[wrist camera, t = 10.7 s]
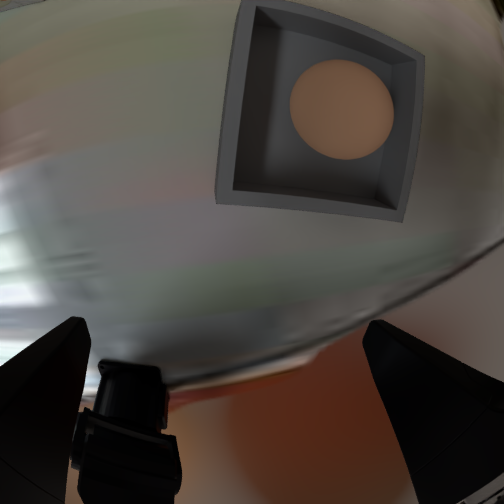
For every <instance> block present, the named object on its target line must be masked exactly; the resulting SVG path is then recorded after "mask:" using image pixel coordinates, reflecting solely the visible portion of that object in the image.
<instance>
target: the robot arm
mask: <svg viewBox="0 0 504 504" xmlns="http://www.w3.org/2000/svg"><path fill="white" fill-rule="evenodd" d="M362 344H363V348H364V351H365V354H366V357H367V360H368V363H369V366H370V370H371V373H372V376H373V379H374V382H375V384H376V387H377V389H378V392H379V394H380V396H381V399H382V401H383V404H384V406H385V409H386V411H387V414H388V416H389V419H390V421H391V424H392V427H393V429H394V432H395V434H396V437H397V440H398V442H399V445H400V448H401V451H402V453H403V456H404V459H405V462H406V465H407V467H408V470H409V474H410V477H411V480H412V483H413V486H414V489H415V493H416V496H417V499H418V502H419V504H456V503H458V502H460V501H462V500H464V501H463V502H461V503H460V504H504V382H502V381H499V380H497V379H495V378H492V377H490V376H488V375H486V374H484V373H482V372H480V371H478V370H476V369H474V368H472V367H470V366H468V365H466V364H464V363H462V362H461V361H459V360H457V359H455V358H453V357H451V356H450V355H448V354H446V353H444V352H442V351H440V350H438V349H437V348H435V347H433V346H431V345H429V344H427V343H425V342H423V341H421V340H420V339H418V338H416V337H414V336H412V335H410V334H409V333H407V332H405V331H403V330H401V329H399V328H397V327H395V326H393V325H392V324H390V323H388V322H386V321H384V320H381V319H379V320H372V321H371V322H370V323H369V325H368V328H367V330H366V333H365V335H364V337H363V341H362ZM90 349H91V338H90V334H89V331H88V328H87V324H86V321H85V319H84V318H82V317H75V316H72V317H70V318H69V319H67V320H66V321H64V322H63V323H61V324H60V325H58V326H57V327H55V328H54V329H52V330H51V331H49V332H48V333H46V334H45V335H44V336H42V337H41V338H39V339H38V340H36V341H35V342H33V343H32V344H31V345H29V346H28V347H26V348H25V349H24V350H22V351H21V352H19V353H18V354H17V355H15V356H14V357H12V358H11V359H10V360H8V361H7V362H6V363H4V364H3V365H2V366H0V504H65V503H64V502H65V494H66V483H67V473H68V466H69V458H70V460H72V462H71V468H73V469H76V470H78V471H79V479H78V486H77V490H78V493H79V495H80V497H81V499H82V501H83V503H84V504H174V497H175V495H176V494H177V493H178V492H179V490H180V487H181V482H182V468H181V462H180V457H179V452H178V446H177V441H176V436H174V435H166V434H162V433H161V429H166V428H167V422H168V421H167V420H168V401H169V398H168V392H167V386H166V385H165V384H164V383H162V377H161V371H160V369H159V368H157V367H150V366H138V365H128V364H119V363H111V362H104V361H100V362H99V363H98V369H99V372H100V374H101V380H100V384H99V387H98V391H97V394H96V398H95V402H94V406H93V410H90V409H89V408H87V407H84V411H83V412H78V411H79V406H80V402H81V398H82V394H83V389H84V384H85V378H86V371H87V365H88V359H89V354H90Z"/></svg>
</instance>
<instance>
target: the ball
mask: <svg viewBox="0 0 504 504" xmlns="http://www.w3.org/2000/svg"><path fill="white" fill-rule="evenodd" d="M290 114H291V119H292V122H293V124H294V127H295V129H296V131H297V132H298V134H299V135H300V137H301V138H302V139H303V140H304V141H305V142H306V143H307V144H308V145H309V146H310V147H312V148H313V149H314V150H316V151H317V152H319V153H321V154H323V155H326V156H328V157H331V158H335V159H343V160H351V159H357V158H361V157H364V156H367V155H369V154H371V153H373V152H374V151H375V150H377V149H378V148H379V147H380V146H381V145H382V144H383V143H384V142H385V141H386V139H387V137H388V136H389V134H390V131H391V129H392V126H393V121H394V107H393V102H392V99H391V96H390V93H389V91H388V89H387V88H386V86H385V85H384V83H383V82H382V81H381V79H380V78H379V77H378V76H377V75H376V74H375V73H373V72H372V71H371V70H369V69H368V68H366V67H364V66H362V65H360V64H358V63H355V62H352V61H347V60H327V61H323V62H320V63H317V64H315V65H313V66H311V67H310V68H309V69H307V70H306V71H304V72H303V73H302V74H301V75H300V77H299V78H298V79H297V81H296V83H295V85H294V86H293V89H292V92H291V96H290Z"/></svg>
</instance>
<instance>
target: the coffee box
mask: <svg viewBox="0 0 504 504" xmlns="http://www.w3.org/2000/svg"><path fill="white" fill-rule="evenodd" d="M42 1H44V0H0V12H2V11H5V10H9V9H13V8H16V7H20V6H24V5H28V4H33V3H37V2H42Z"/></svg>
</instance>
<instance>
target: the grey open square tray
mask: <svg viewBox="0 0 504 504" xmlns="http://www.w3.org/2000/svg"><path fill="white" fill-rule="evenodd" d="M327 60H347V61H352V62H355V63H358V64H360V65H362V66H364V67H366V68H368V69H369V70H371V71H372V72H373V73H375V74H376V75H377V76H378V77H379V78H380V79H381V81H382V82H383V83H384V85H385V86H386V88H387V89H388V91H389V93H390V96H391V99H392V102H393V107H394V121H393V126H392V129H391V131H390V134H389V136H388V137H387V139H386V141H385V142H384V143H383V144H382V145H381V146H380V147H379V148H378V149H377V150H375V151H374V152H373V153H371V154H369V155H367V156H364V157H361V158H357V159H351V160H343V159H335V158H331V157H328V156H326V155H323V154H321V153H319V152H317V151H316V150H314V149H313V148H312V147H310V146H309V145H308V144H307V143H306V142H305V141H304V140H303V139H302V138H301V137H300V135H299V134H298V132H297V131H296V129H295V127H294V124H293V122H292V119H291V114H290V96H291V92H292V89H293V86H294V85H295V83H296V81H297V79H298V78H299V77H300V75H301V74H302V73H303V72H304V71H306V70H307V69H309V68H310V67H311V66H313V65H315V64H317V63H320V62H323V61H327ZM424 74H425V56H424V55H423V54H421V53H419V52H418V51H416V50H414V49H412V48H410V47H409V46H407V45H405V44H403V43H401V42H399V41H397V40H395V39H393V38H391V37H389V36H387V35H385V34H383V33H381V32H378V31H376V30H374V29H372V28H369V27H367V26H365V25H362V24H360V23H357V22H355V21H352V20H349V19H347V18H344V17H341V16H338V15H335V14H332V13H329V12H326V11H323V10H320V9H316V8H313V7H309V6H305V5H302V4H298V3H293V2H289V1H285V0H241V3H240V6H239V9H238V13H237V16H236V22H235V28H234V34H233V40H232V47H231V53H230V60H229V67H228V74H227V81H226V89H225V96H224V104H223V112H222V121H221V130H220V139H219V148H218V158H217V168H216V179H215V199H216V204H226V205H241V206H255V207H268V208H280V209H291V210H302V211H312V212H322V213H331V214H340V215H348V216H357V217H365V218H372V219H380V220H387V221H394V222H401V223H402V222H403V218H404V214H405V210H406V206H407V202H408V197H409V193H410V188H411V183H412V178H413V173H414V168H415V162H416V156H417V150H418V143H419V135H420V127H421V118H422V108H423V95H424Z"/></svg>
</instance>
